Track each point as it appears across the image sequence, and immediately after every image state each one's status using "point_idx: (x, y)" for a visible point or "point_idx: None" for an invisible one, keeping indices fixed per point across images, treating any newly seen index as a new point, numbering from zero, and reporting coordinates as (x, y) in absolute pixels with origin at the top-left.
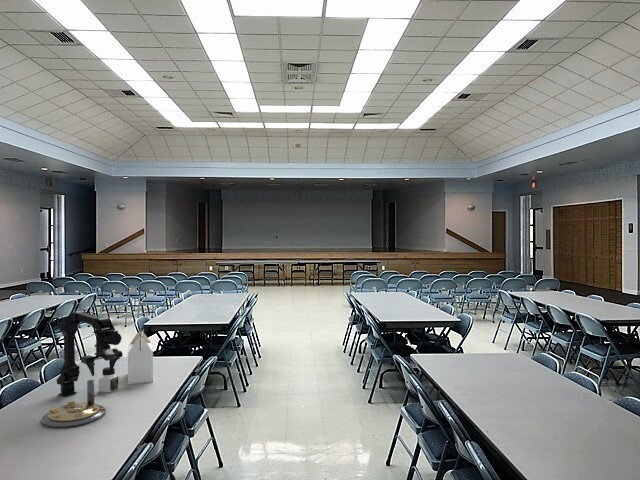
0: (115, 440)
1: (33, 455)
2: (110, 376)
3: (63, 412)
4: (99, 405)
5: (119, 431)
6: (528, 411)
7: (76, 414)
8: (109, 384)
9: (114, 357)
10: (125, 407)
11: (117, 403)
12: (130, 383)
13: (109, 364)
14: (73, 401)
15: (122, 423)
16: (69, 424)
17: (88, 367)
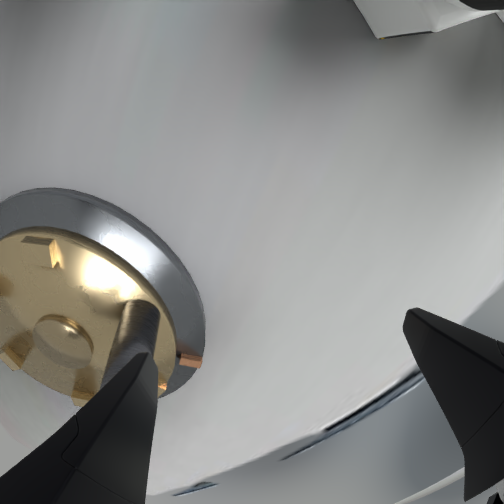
0: (172, 466)
1: (28, 428)
2: (455, 1)
3: (26, 333)
4: (191, 304)
5: (192, 452)
6: None
7: (77, 401)
8: (402, 27)
9: (500, 492)
10: (296, 344)
11: (301, 277)
12: (502, 19)
13: (474, 357)
14: (48, 251)
15: (216, 432)
16: None
17: (57, 445)
